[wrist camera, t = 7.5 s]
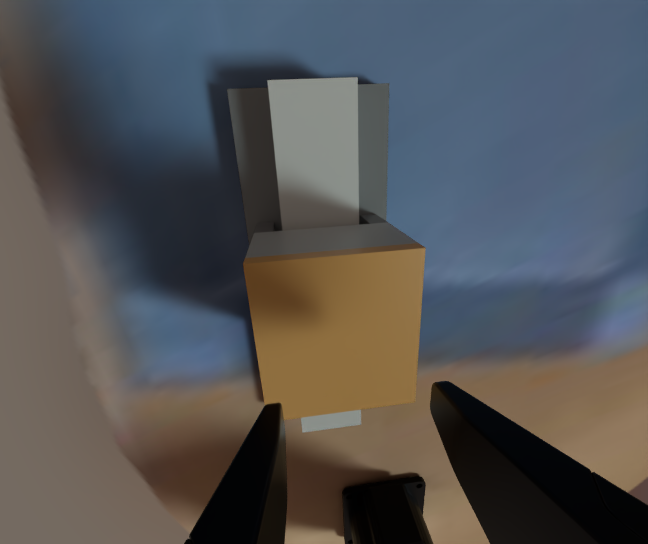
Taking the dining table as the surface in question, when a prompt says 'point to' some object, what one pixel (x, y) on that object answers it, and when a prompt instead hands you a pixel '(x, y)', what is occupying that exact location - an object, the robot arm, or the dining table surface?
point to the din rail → (262, 153)
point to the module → (335, 315)
